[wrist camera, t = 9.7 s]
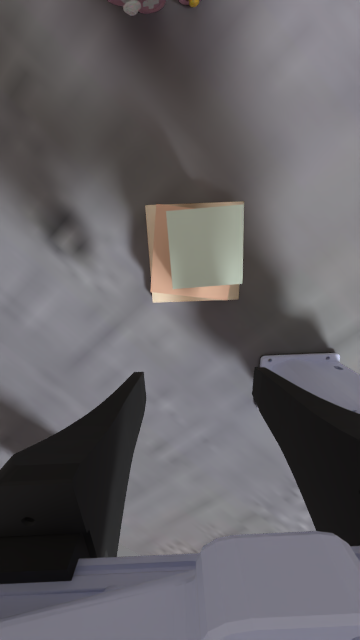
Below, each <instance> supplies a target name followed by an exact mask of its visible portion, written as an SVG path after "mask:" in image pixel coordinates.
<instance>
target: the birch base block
mask: <svg viewBox="0 0 360 640" xmlns="http://www.w3.org/2000/svg"><path fill="white" fill-rule="evenodd" d="M243 204H244V201H242V202H216V203H190V204H164V205H171V206H178V207H186V208H194V209H196V208H208V207H219V206H231V205H243ZM145 209H146V221H147V234H148V247H149V259H150V272H151V277H152V261H153V246H154V230H155V215H156V205H145ZM152 297H153V303H154V302H182V301H210V300H218V299H209V298H200V297H191V296H182V295H173V294H164V293H154V292H152ZM238 299H239V284H233V285H230V289H229V294H228V299H227V300H238Z"/></svg>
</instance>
